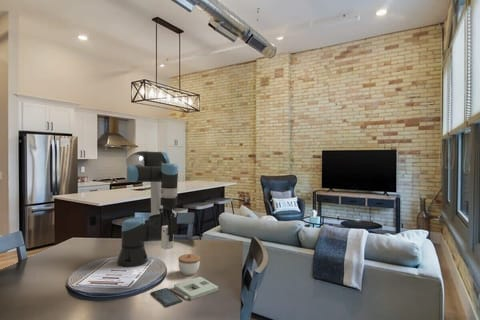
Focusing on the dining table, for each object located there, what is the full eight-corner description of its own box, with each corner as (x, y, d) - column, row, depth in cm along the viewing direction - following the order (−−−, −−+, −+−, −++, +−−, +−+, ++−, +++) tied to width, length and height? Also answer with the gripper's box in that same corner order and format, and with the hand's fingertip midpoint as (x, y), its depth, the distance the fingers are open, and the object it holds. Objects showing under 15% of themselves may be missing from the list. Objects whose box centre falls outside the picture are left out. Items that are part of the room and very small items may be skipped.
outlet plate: (174, 287, 130) (174, 284, 130) (200, 279, 139) (200, 276, 139) (191, 300, 119) (191, 296, 119) (218, 290, 129) (218, 286, 129)
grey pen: (167, 289, 128) (167, 287, 128) (169, 288, 129) (169, 286, 129) (186, 299, 119) (186, 297, 119) (188, 298, 120) (188, 296, 120)
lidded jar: (178, 278, 140) (179, 258, 140) (177, 269, 150) (177, 251, 150) (201, 276, 143) (201, 257, 143) (198, 268, 153) (198, 250, 153)
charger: (161, 247, 137) (161, 226, 137) (168, 245, 140) (169, 224, 140) (165, 249, 134) (165, 227, 134) (173, 248, 137) (173, 226, 137)
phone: (150, 295, 123) (150, 292, 123) (165, 290, 128) (165, 287, 128) (166, 308, 113) (166, 305, 113) (182, 303, 118) (182, 300, 118)
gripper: (153, 194, 140) (151, 243, 141) (170, 200, 128) (168, 253, 128) (167, 193, 145) (165, 240, 146) (185, 198, 133) (183, 250, 133)
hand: (167, 246), depth 137 cm, fingers closed on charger, 4 cm apart
